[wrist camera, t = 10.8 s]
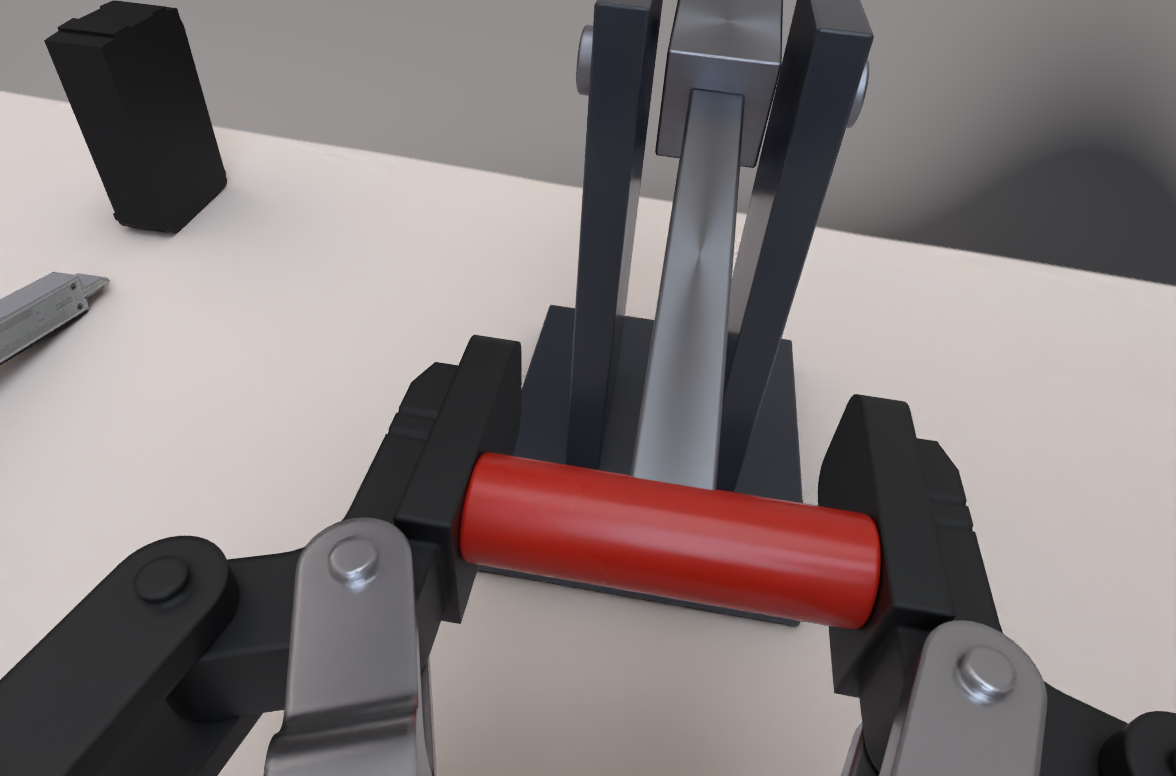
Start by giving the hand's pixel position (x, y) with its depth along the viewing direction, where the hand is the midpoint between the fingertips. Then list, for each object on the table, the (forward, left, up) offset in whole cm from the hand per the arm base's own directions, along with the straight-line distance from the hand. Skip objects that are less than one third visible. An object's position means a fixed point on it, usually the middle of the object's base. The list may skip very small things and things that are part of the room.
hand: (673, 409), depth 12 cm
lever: (-2, -2, 0) cm, 3 cm away
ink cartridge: (+5, -28, -10) cm, 31 cm away
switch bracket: (-5, -6, -10) cm, 13 cm away
